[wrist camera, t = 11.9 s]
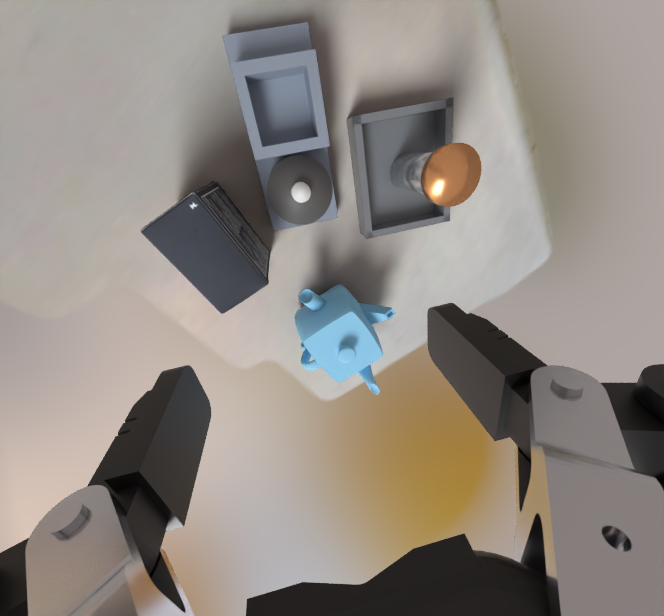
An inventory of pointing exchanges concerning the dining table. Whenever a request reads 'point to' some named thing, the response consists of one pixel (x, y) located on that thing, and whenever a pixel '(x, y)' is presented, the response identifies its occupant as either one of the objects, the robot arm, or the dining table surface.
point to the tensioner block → (285, 121)
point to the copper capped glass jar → (439, 173)
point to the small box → (212, 246)
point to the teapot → (340, 334)
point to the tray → (378, 155)
